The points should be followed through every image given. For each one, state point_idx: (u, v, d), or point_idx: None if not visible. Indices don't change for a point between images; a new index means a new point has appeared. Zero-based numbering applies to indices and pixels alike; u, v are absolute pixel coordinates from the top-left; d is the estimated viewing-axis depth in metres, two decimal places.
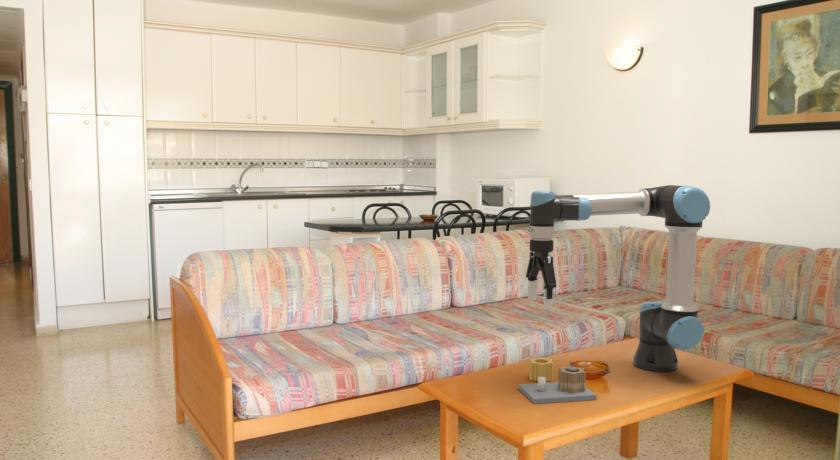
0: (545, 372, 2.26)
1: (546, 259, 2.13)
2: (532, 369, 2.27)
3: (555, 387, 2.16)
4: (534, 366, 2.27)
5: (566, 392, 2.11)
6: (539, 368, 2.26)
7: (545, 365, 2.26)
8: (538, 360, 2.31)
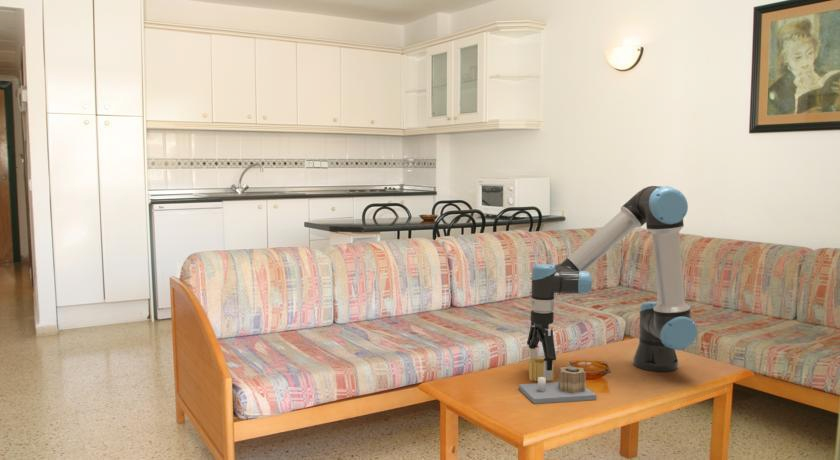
0: None
1: (546, 332, 2.21)
2: (532, 369, 2.27)
3: (555, 387, 2.16)
4: (534, 366, 2.27)
5: (566, 392, 2.11)
6: (539, 368, 2.26)
7: None
8: (538, 360, 2.31)
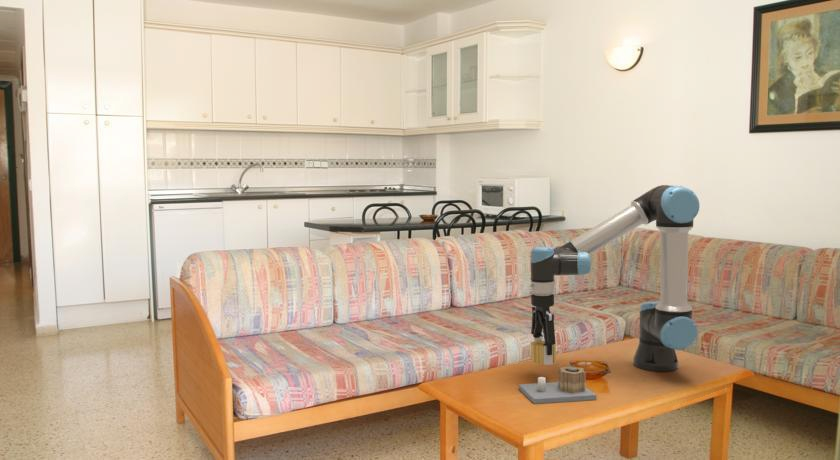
0: None
1: (547, 317, 2.21)
2: (534, 352, 2.27)
3: (555, 387, 2.16)
4: (536, 348, 2.26)
5: (566, 392, 2.11)
6: (541, 351, 2.25)
7: None
8: (540, 343, 2.31)
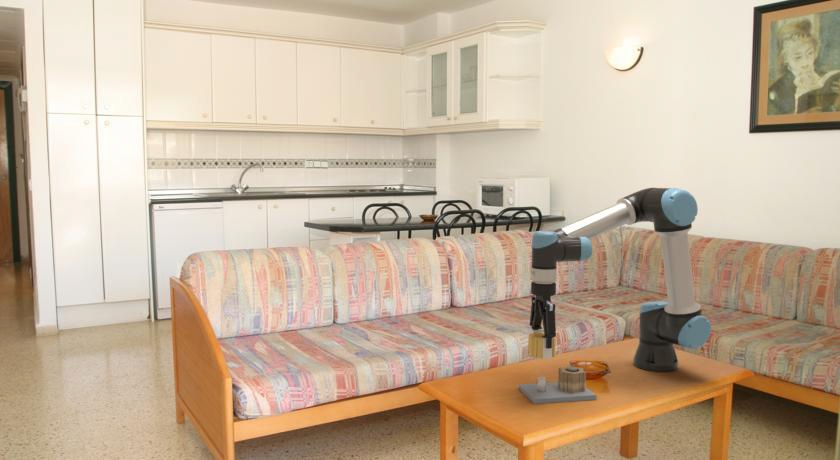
0: None
1: (548, 307, 2.03)
2: (532, 344, 2.09)
3: (555, 387, 2.16)
4: (534, 341, 2.09)
5: (566, 392, 2.11)
6: (540, 343, 2.08)
7: None
8: (538, 335, 2.13)
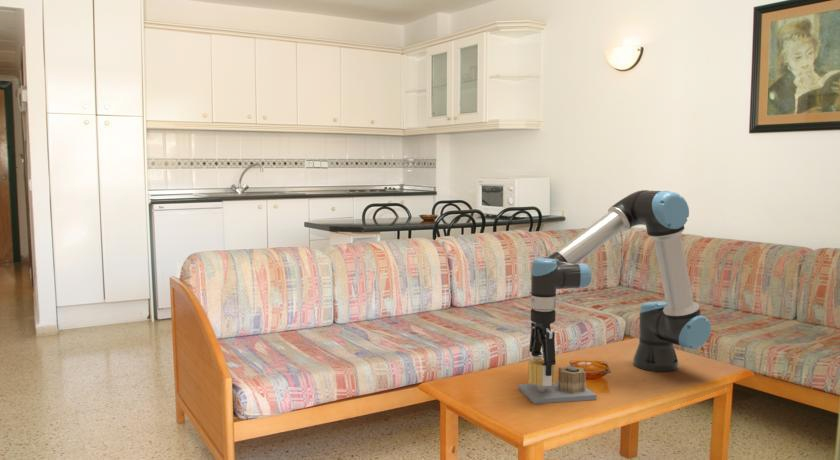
0: None
1: (547, 335, 2.04)
2: (532, 371, 2.10)
3: (555, 387, 2.16)
4: (534, 368, 2.10)
5: (566, 392, 2.11)
6: (539, 370, 2.09)
7: None
8: (538, 362, 2.14)
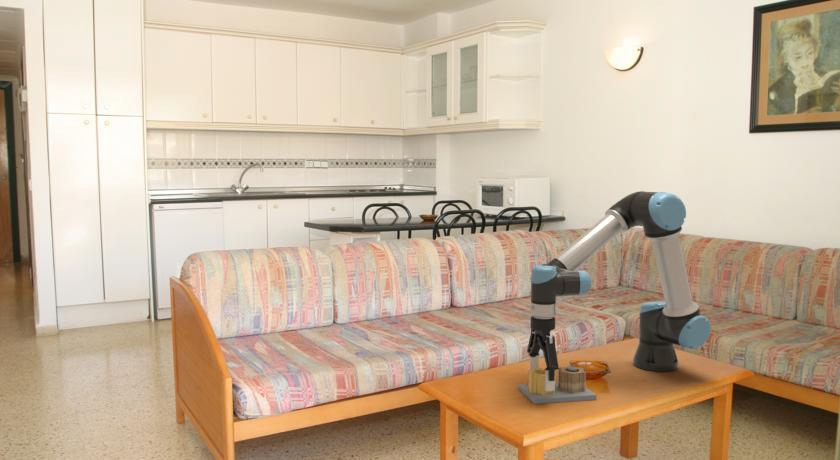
0: None
1: (548, 339, 2.04)
2: (532, 381, 2.10)
3: (555, 387, 2.16)
4: (534, 377, 2.10)
5: (566, 392, 2.11)
6: (539, 380, 2.09)
7: None
8: (538, 371, 2.14)
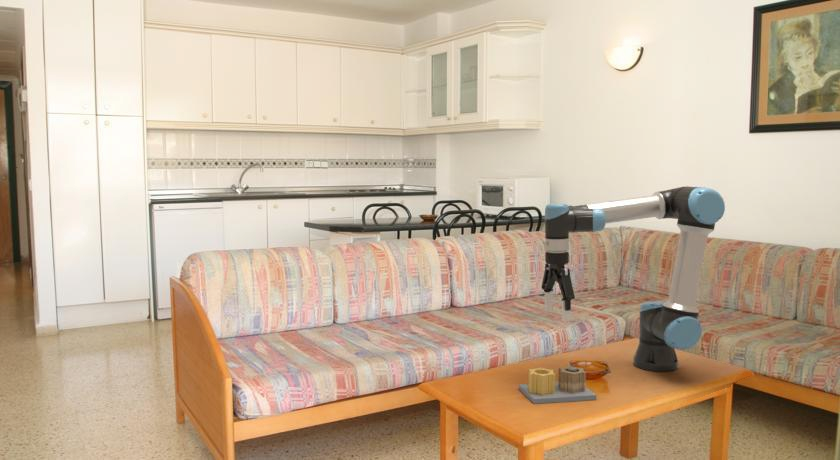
0: (546, 384, 2.09)
1: (563, 271, 2.16)
2: (532, 381, 2.10)
3: (555, 387, 2.16)
4: (534, 377, 2.10)
5: (566, 392, 2.11)
6: (539, 380, 2.09)
7: (546, 376, 2.09)
8: (538, 371, 2.14)
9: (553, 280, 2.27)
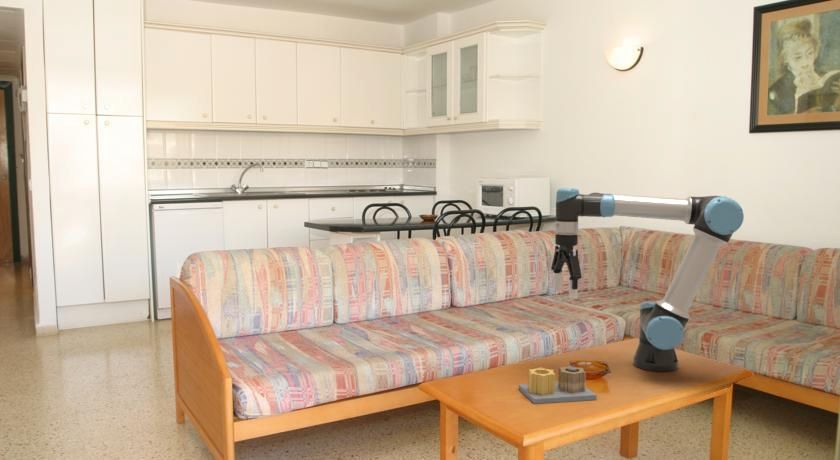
0: (546, 384, 2.09)
1: (571, 252, 2.28)
2: (532, 381, 2.10)
3: (555, 387, 2.16)
4: (534, 377, 2.10)
5: (566, 392, 2.11)
6: (539, 380, 2.09)
7: (546, 376, 2.09)
8: (538, 371, 2.14)
9: (562, 261, 2.39)
